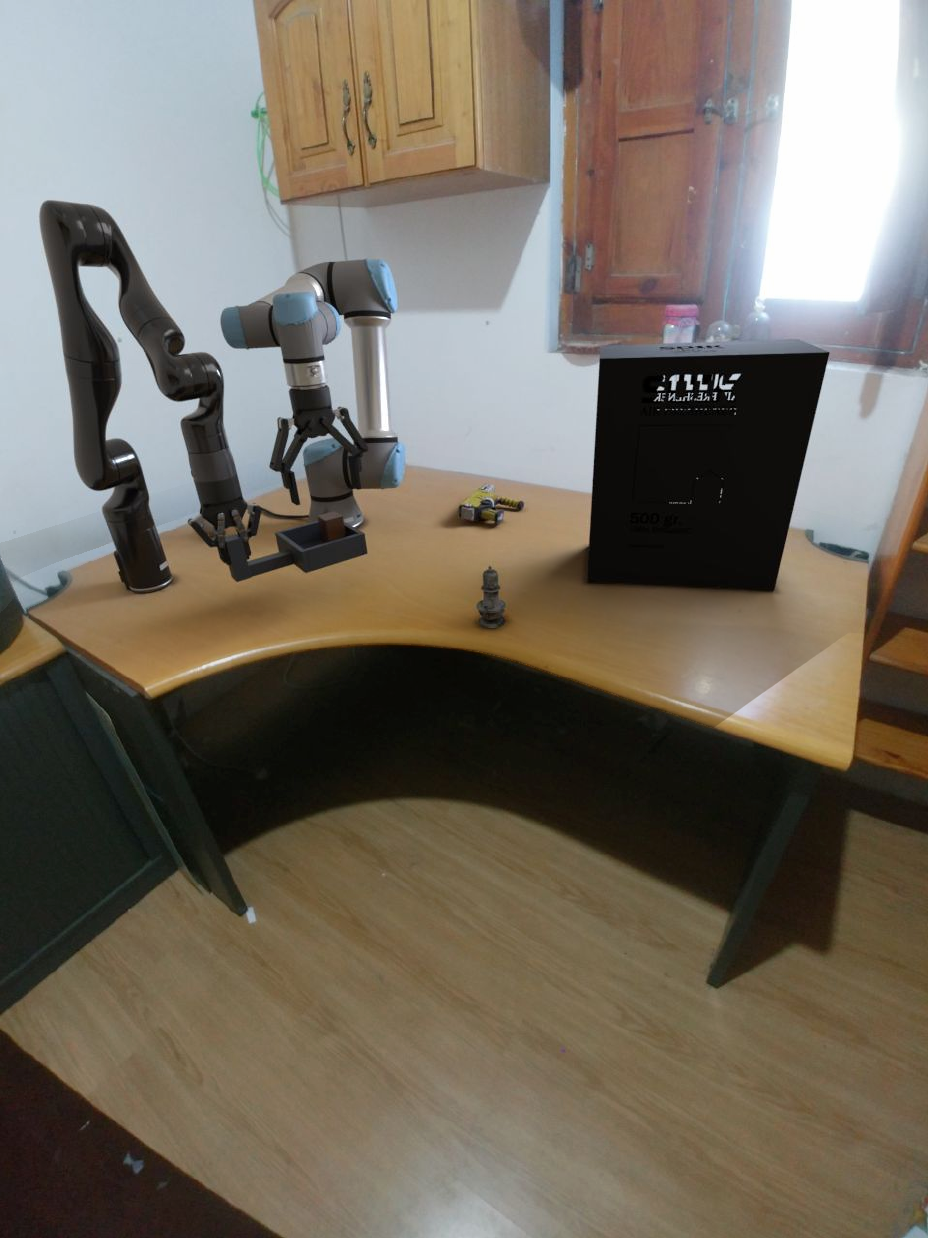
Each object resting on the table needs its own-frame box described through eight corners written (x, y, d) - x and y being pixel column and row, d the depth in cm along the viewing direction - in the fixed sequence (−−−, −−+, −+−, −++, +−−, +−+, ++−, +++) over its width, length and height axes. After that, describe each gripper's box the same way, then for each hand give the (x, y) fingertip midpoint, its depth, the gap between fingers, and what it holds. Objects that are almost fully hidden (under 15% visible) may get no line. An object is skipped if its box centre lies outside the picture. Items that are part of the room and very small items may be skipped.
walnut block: (322, 546, 129) (317, 515, 126) (339, 541, 131) (334, 511, 128) (330, 552, 127) (325, 520, 123) (347, 547, 129) (343, 515, 125)
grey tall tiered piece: (504, 629, 116) (503, 573, 110) (474, 627, 117) (471, 571, 111) (508, 614, 120) (507, 559, 114) (479, 612, 122) (477, 558, 116)
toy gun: (532, 488, 178) (484, 481, 182) (510, 513, 158) (457, 504, 162) (530, 504, 181) (483, 496, 185) (509, 529, 161) (456, 520, 165)
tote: (246, 592, 113) (235, 550, 109) (223, 568, 123) (212, 529, 119) (367, 553, 126) (362, 515, 122) (337, 535, 136) (332, 498, 132)
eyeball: (213, 540, 164) (207, 519, 161) (198, 536, 167) (192, 516, 164) (231, 532, 168) (225, 512, 165) (216, 529, 171) (211, 509, 168)
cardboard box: (754, 550, 140) (797, 339, 118) (774, 590, 123) (829, 352, 101) (589, 545, 148) (601, 345, 125) (586, 582, 131) (599, 358, 108)
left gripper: (179, 487, 103) (206, 578, 111) (259, 469, 110) (279, 556, 118) (169, 477, 108) (195, 565, 117) (246, 461, 115) (265, 545, 124)
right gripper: (250, 398, 104) (275, 515, 115) (376, 378, 116) (389, 485, 127) (236, 393, 109) (261, 505, 120) (358, 375, 122) (371, 478, 132)
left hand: (237, 560), depth 117 cm, fingers closed on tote, 3 cm apart
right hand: (327, 495), depth 123 cm, fingers open, 13 cm apart
